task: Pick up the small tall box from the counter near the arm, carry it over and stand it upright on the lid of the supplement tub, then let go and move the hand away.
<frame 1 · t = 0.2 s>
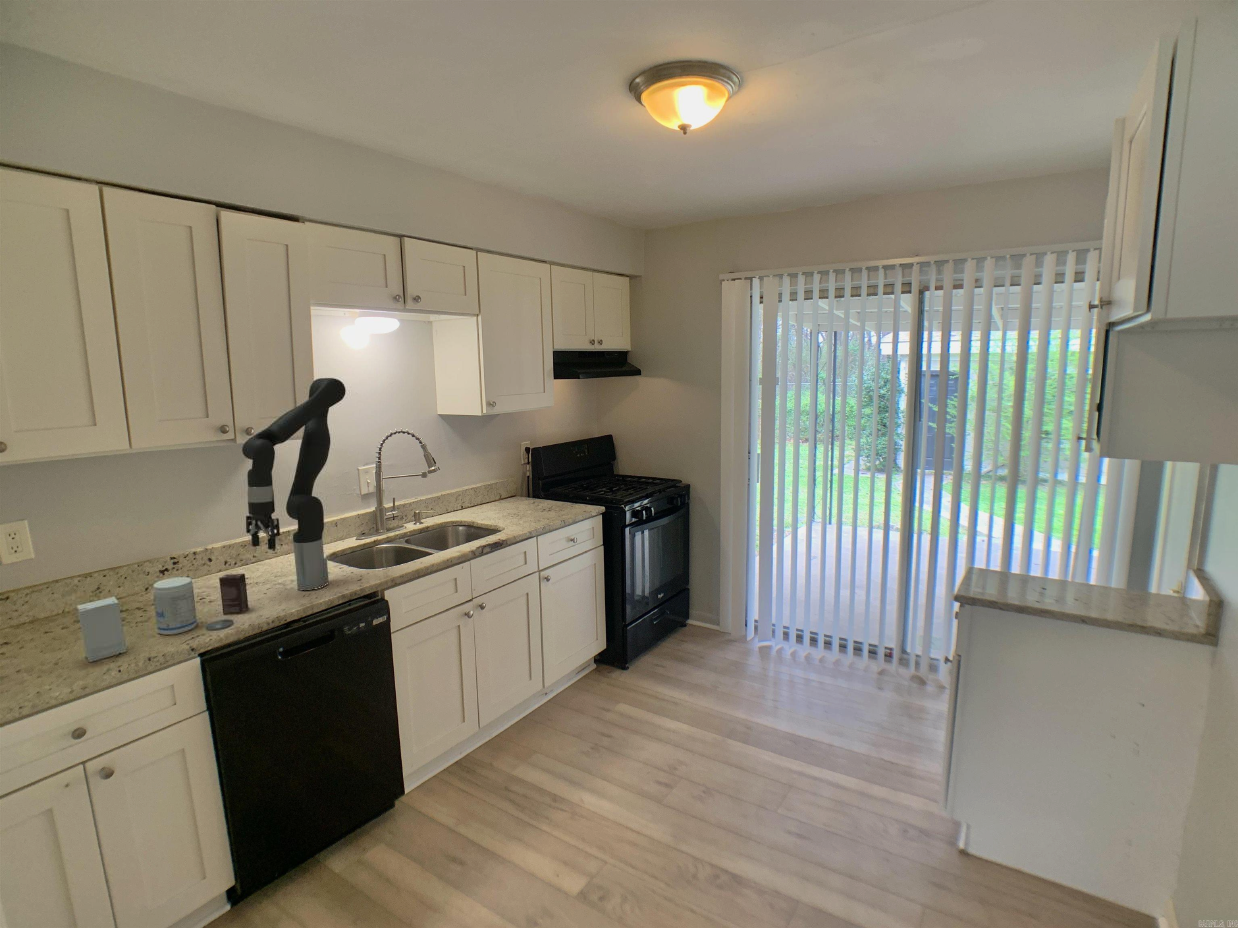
hand: (263, 547, 202), 18 cm above the countertop, tool pointing down, fingers open, 8 cm apart
box: (236, 612, 194), on the countertop
skincare box: (106, 655, 165), on the countertop
supplement tub: (178, 629, 181), on the countertop
slate coaster: (219, 625, 183), on the countertop
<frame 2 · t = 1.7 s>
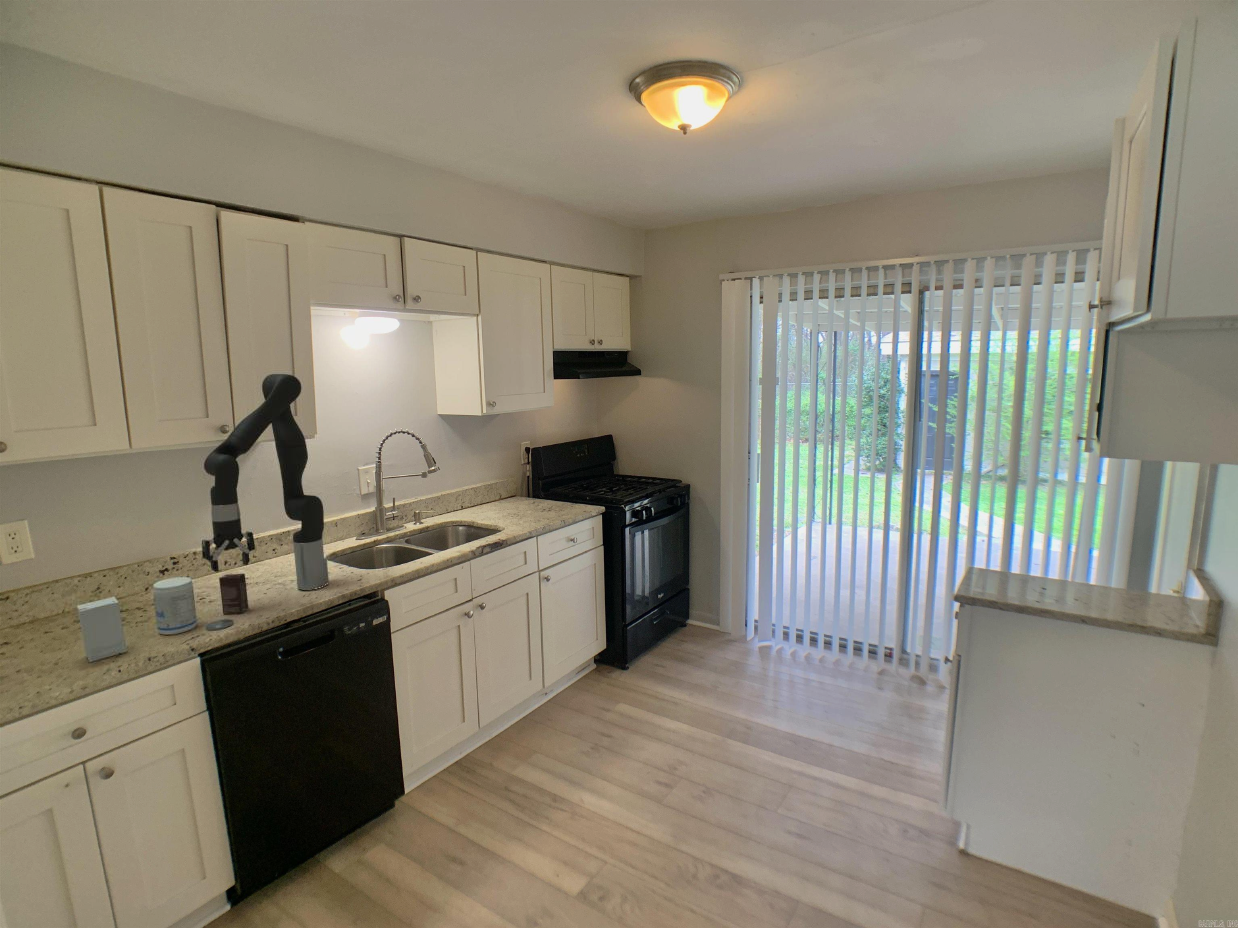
hand: (230, 567, 192), 15 cm above the countertop, tool pointing down, fingers open, 8 cm apart
nothing on the countertop moved.
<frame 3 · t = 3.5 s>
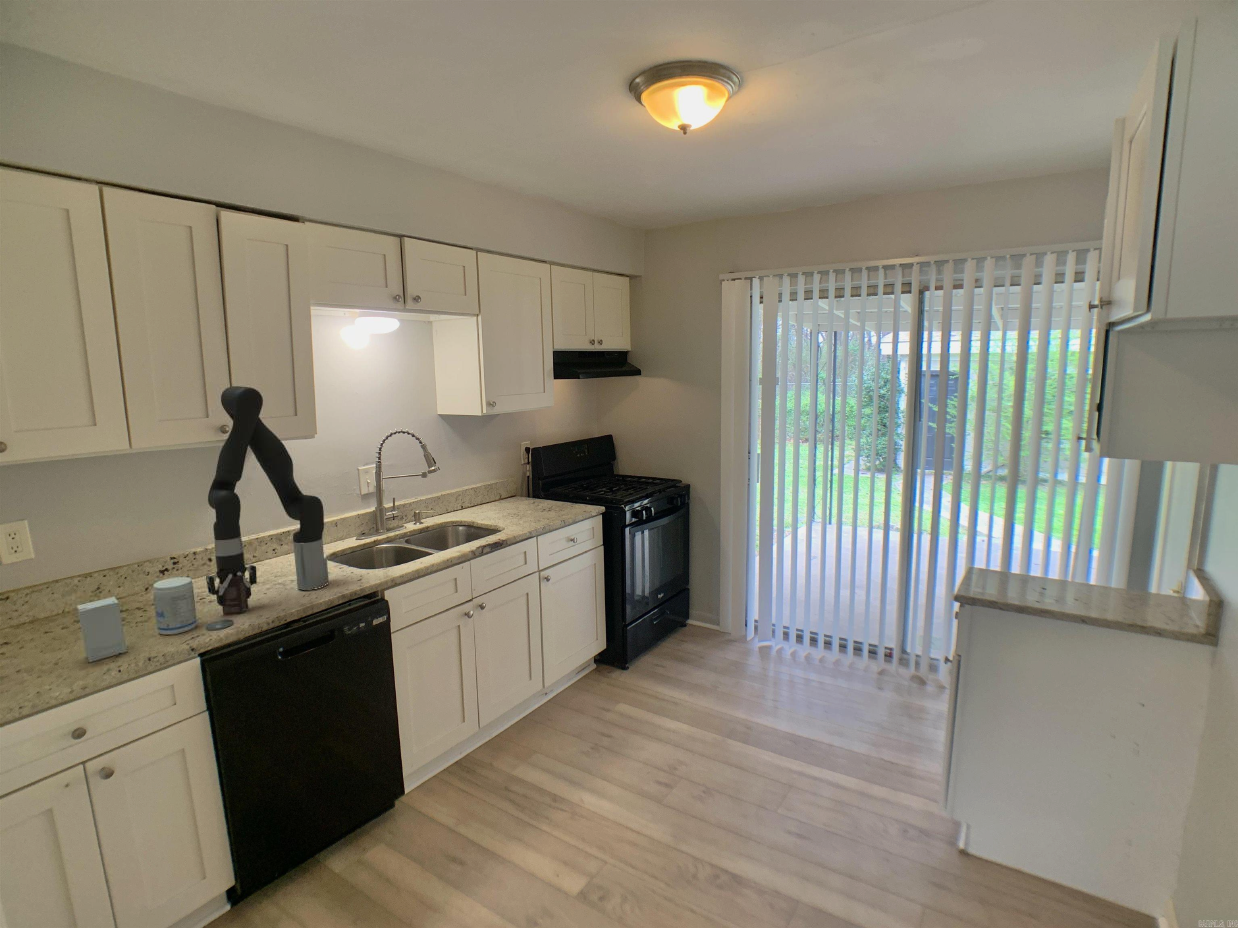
hand: (234, 601, 194), 3 cm above the countertop, tool pointing down, fingers closed on box, 7 cm apart
box: (236, 612, 194), on the countertop, touching gripper
everything else where it was.
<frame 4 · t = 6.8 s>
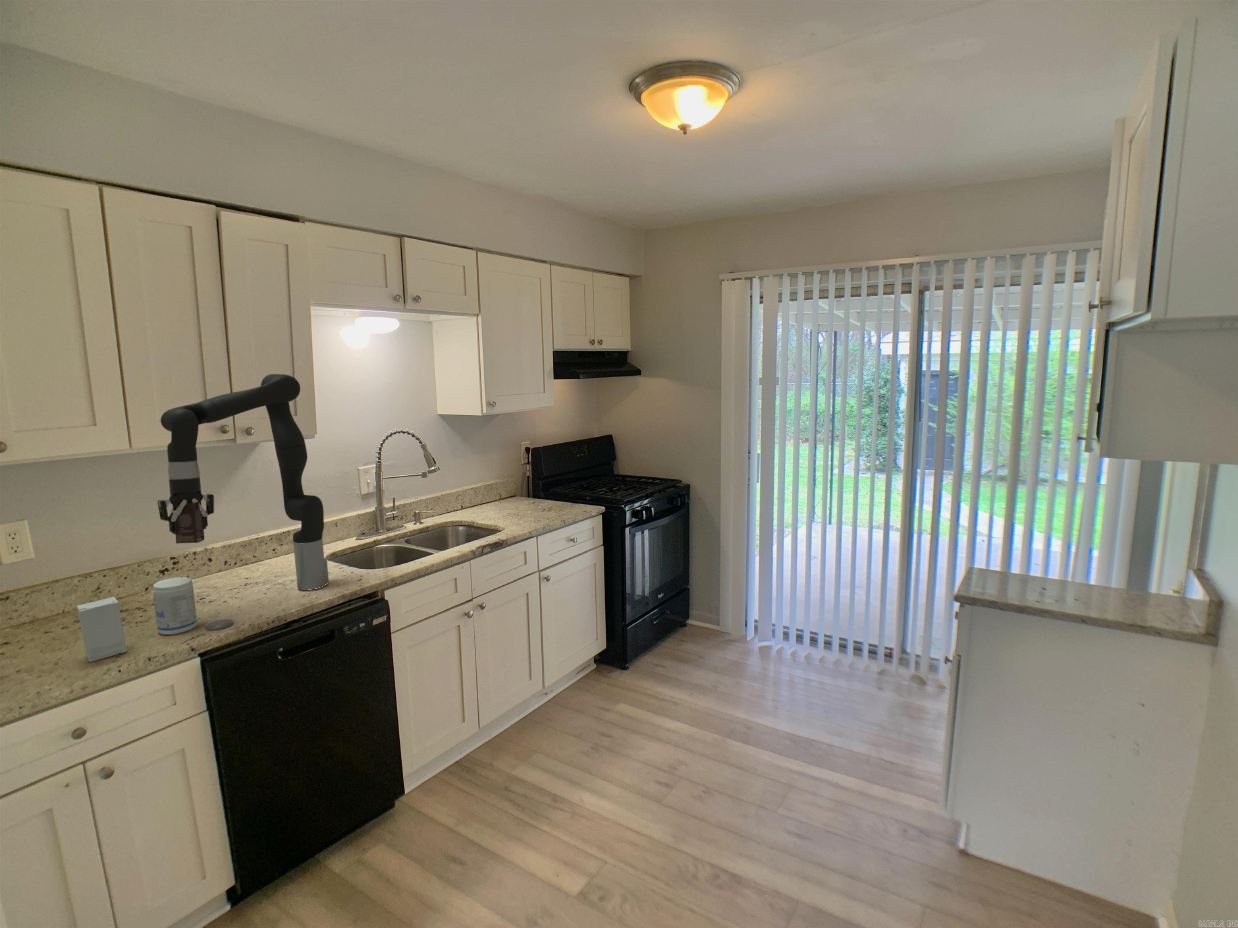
hand: (189, 531, 182), 29 cm above the countertop, tool pointing down, fingers closed on box, 7 cm apart
box: (190, 542, 182), point 25 cm above the countertop, touching gripper
everything else where it was.
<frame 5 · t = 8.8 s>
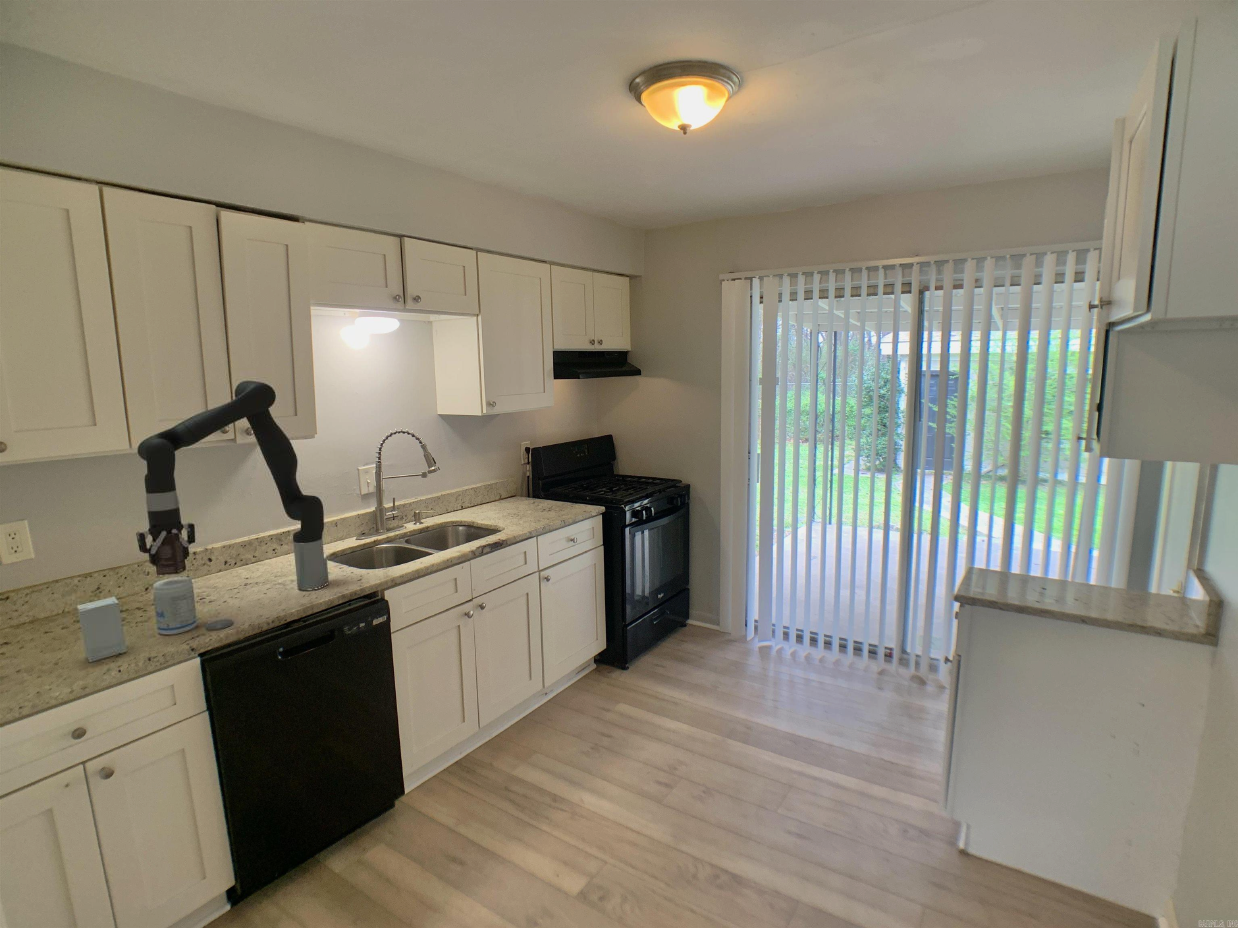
hand: (170, 562, 178), 21 cm above the countertop, tool pointing down, fingers closed on box, 7 cm apart
box: (171, 573, 179), point 17 cm above the countertop, touching gripper
everything else where it was.
when the fingers open (20 cm above the countertop, at t = 10.1 s): box drops 2 cm, resting on supplement tub.
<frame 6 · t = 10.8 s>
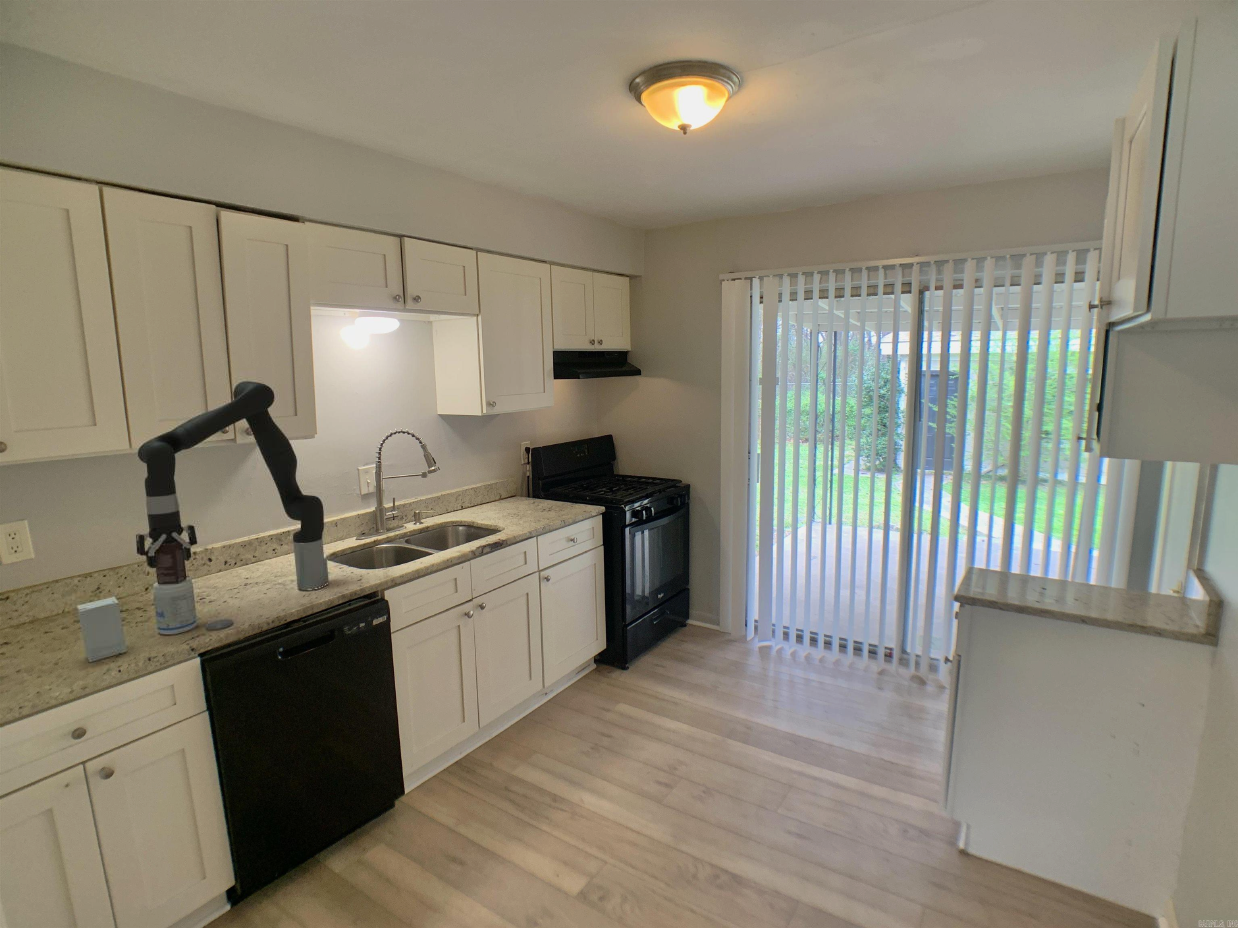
hand: (170, 563, 178), 20 cm above the countertop, tool pointing down, fingers open, 8 cm apart
box: (172, 582, 179), point 15 cm above the countertop, touching supplement tub
supplement tub: (178, 629, 181), on the countertop, touching box
everything else where it was.
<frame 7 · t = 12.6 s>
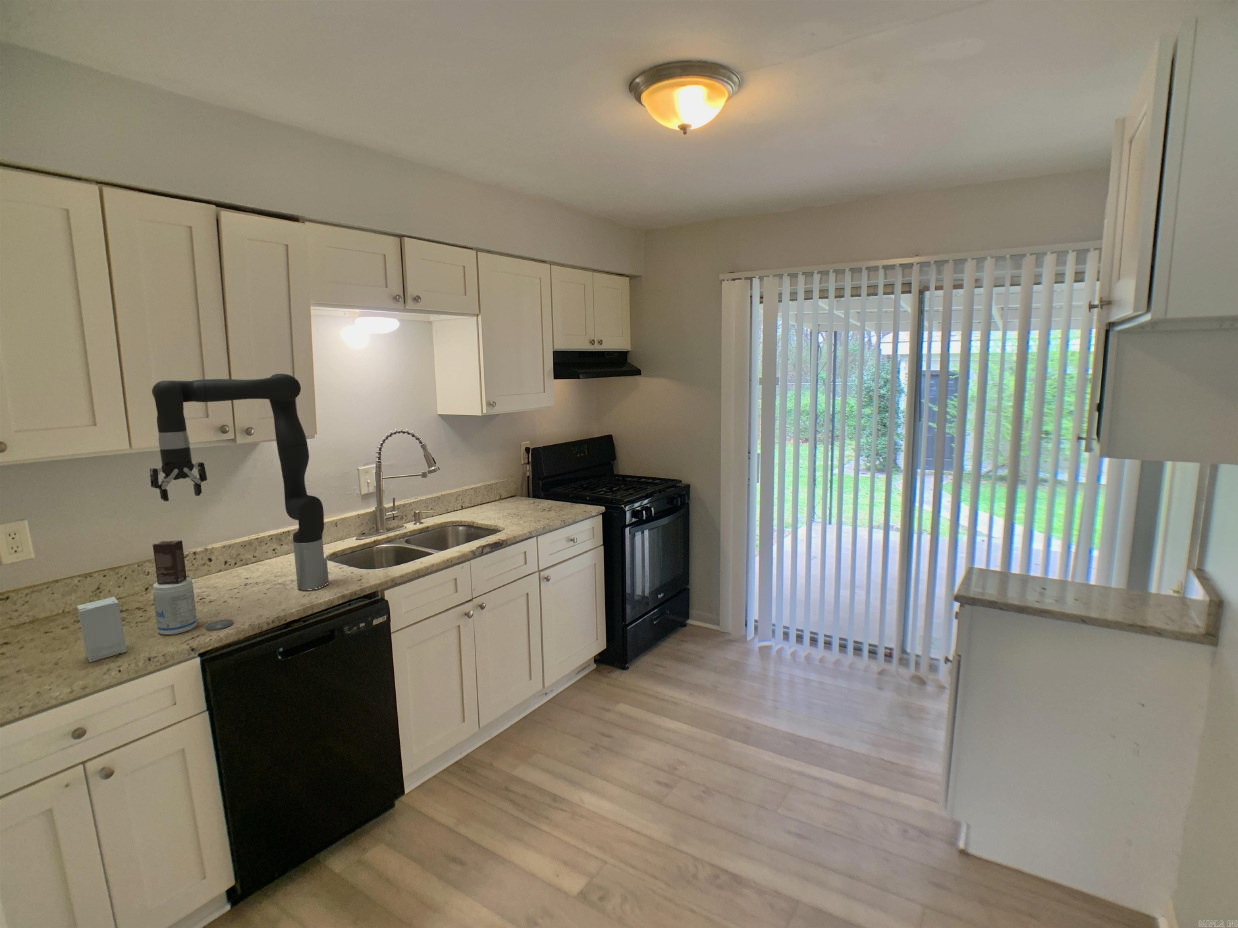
hand: (182, 498, 188), 37 cm above the countertop, tool pointing down, fingers open, 8 cm apart
nothing on the countertop moved.
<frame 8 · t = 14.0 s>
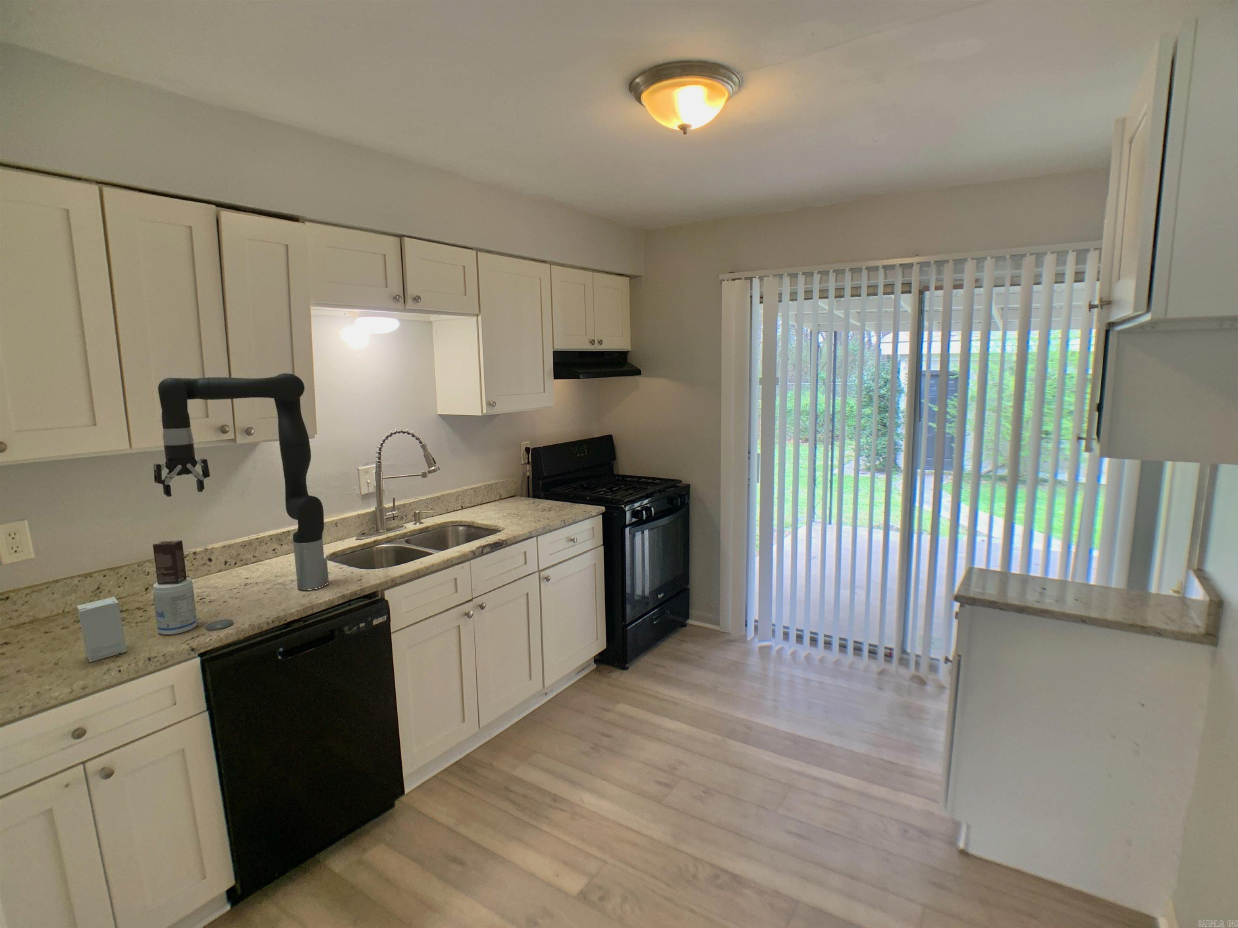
hand: (184, 494, 191), 38 cm above the countertop, tool pointing down, fingers open, 8 cm apart
nothing on the countertop moved.
at the end: box inside the target area on the supplement tub (0.1 cm from its centre), point 14.7 cm above the supplement tub's base; box tilted 0°; the gripper is holding nothing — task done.
